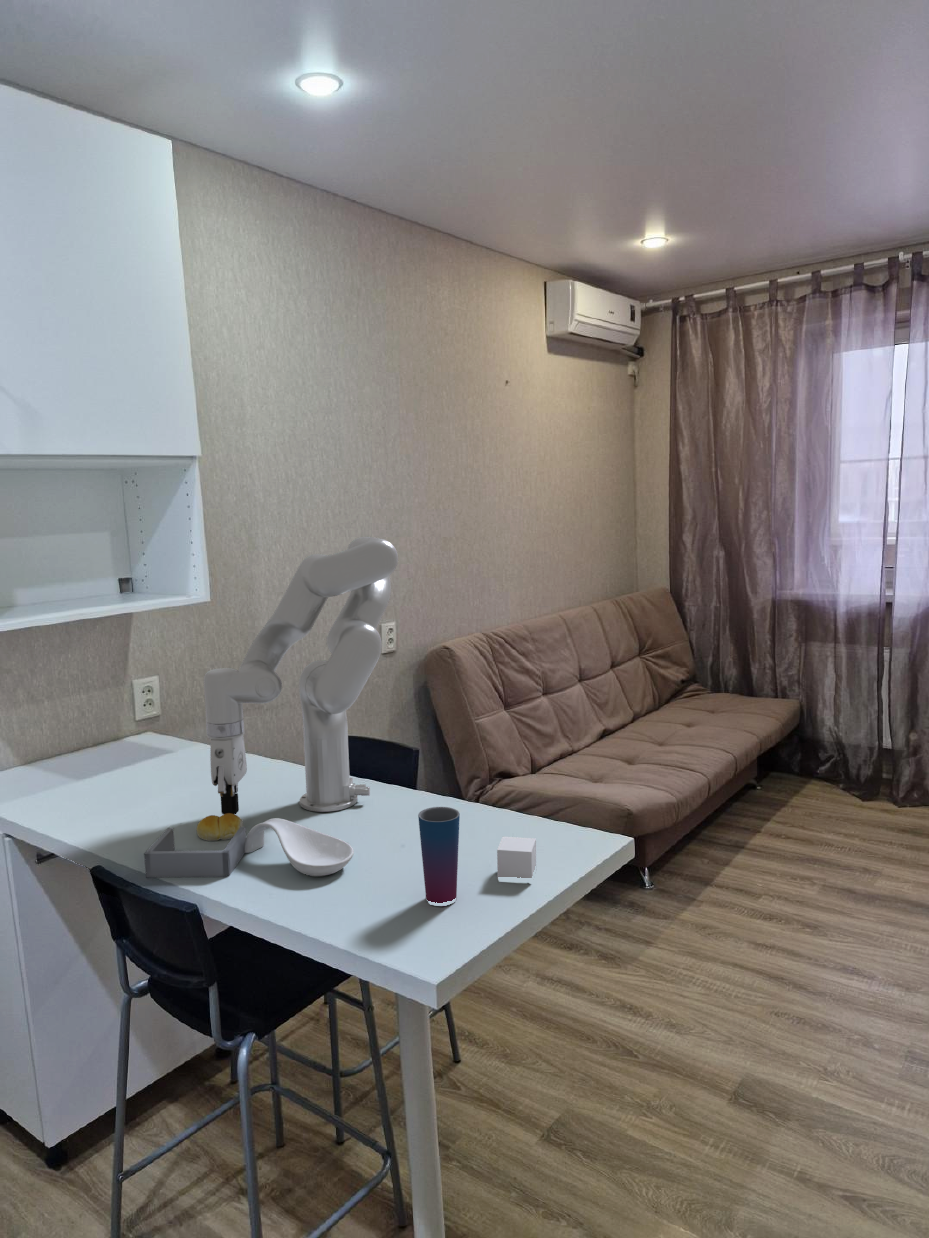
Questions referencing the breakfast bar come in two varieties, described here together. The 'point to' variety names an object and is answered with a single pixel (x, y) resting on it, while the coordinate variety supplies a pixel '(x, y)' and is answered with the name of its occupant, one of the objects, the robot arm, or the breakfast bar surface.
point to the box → (192, 858)
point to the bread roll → (219, 827)
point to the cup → (439, 852)
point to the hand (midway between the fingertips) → (230, 812)
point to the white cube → (516, 857)
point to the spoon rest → (303, 847)
